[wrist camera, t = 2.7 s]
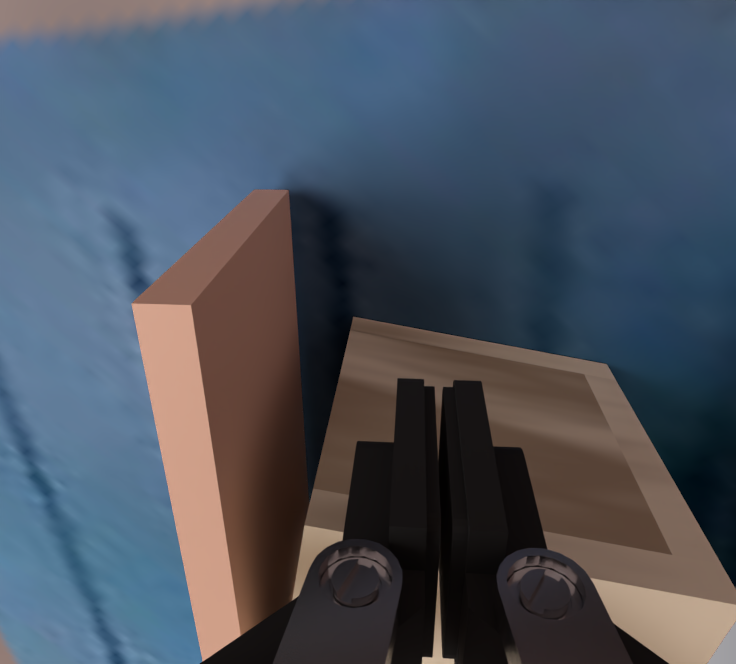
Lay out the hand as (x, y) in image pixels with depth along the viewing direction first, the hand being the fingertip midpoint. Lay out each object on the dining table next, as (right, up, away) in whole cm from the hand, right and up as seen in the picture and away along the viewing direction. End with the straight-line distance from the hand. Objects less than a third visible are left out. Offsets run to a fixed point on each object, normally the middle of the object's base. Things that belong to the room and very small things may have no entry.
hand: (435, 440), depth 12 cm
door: (-5, 0, +12) cm, 13 cm away
